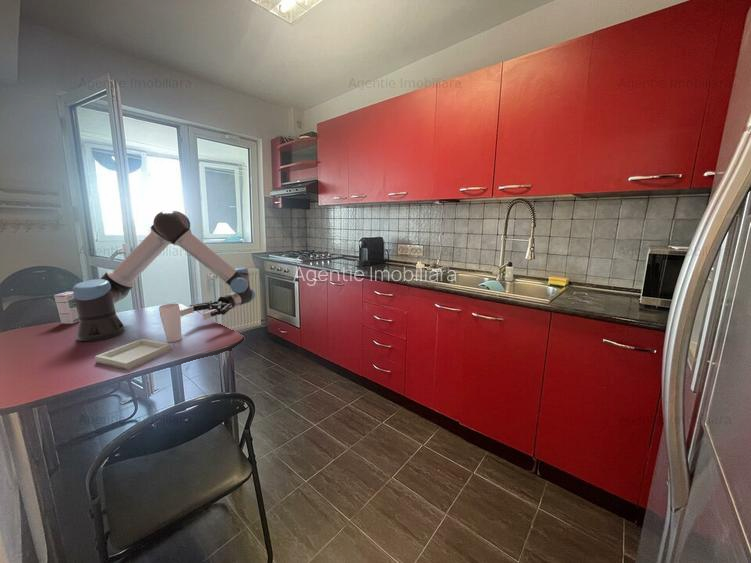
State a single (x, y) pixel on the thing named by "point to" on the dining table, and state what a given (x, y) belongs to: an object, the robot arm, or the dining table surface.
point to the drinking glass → (171, 321)
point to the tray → (133, 353)
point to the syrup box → (67, 308)
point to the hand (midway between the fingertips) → (191, 315)
